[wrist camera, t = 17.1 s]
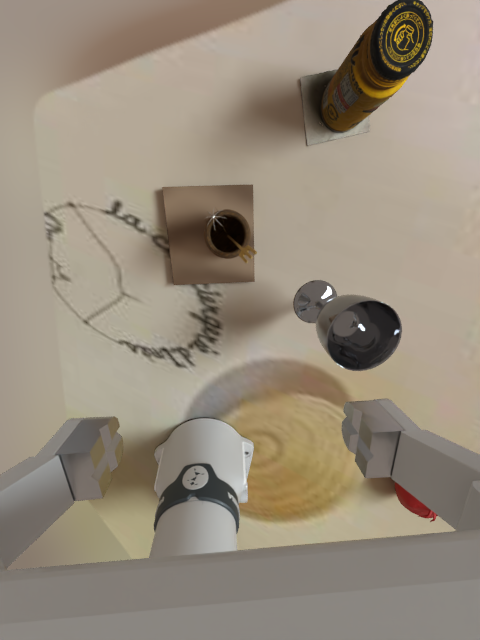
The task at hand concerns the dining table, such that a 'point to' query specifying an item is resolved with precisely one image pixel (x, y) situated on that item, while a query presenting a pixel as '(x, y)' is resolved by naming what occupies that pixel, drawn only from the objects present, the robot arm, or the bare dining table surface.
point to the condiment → (367, 73)
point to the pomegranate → (413, 503)
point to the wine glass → (349, 325)
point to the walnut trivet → (188, 233)
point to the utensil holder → (228, 235)
